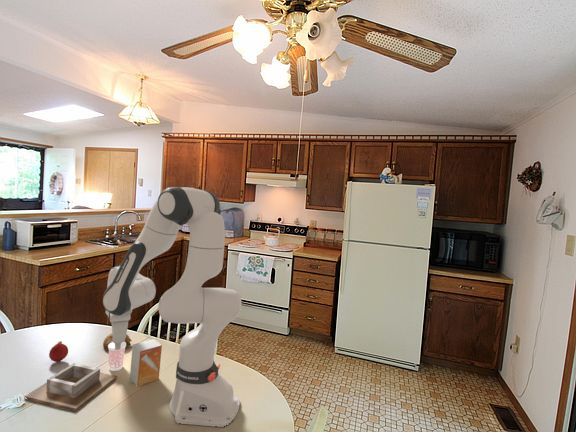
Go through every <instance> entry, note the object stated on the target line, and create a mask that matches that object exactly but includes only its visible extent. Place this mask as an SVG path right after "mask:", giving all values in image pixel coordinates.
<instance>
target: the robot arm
mask: <svg viewBox="0 0 576 432" xmlns="http://www.w3.org/2000/svg"><path fill="white" fill-rule="evenodd" d="M220 206H221V205H220V200H219V198H218V196H217V195H216V194H215V193H213V192H211V191H209V190H205V189H199V188H194V187H184V186H183V187H179V186H171V187H167V188H165V189H163V190H161V192H160V193H159V196H158V198H157V200H156V201H155V202H154V204H153V205H152V207H151V209H150V211H149V213H148V215H147V218H146V220H145V223H144V226H143V227H142V230H141V232H140V234H139V235H138V237H137V238H136V239H135V241H134V242H133V243H132V244H131V245H130V246H129V248H128V250H127V252H126V253H125V255H124V257H123V260H122V262H121V264H119V265H116V266H114V267H112V268H111V269H110V270H109V272H108V277H107V286H106V289H105V291H104V293H103V295H102V305H103V308H104V309H105V314H106V316H107V317H108V319H109V322H110V323H111V331H112V332H111V333H112V335H113V343H115V350H120V348H121V343H122V342H124V341H125V338H126V334H127V331H128V326H129V321H131V315H132V312H133V310H134V309H136V308H139V307H141V306H143V305H145V304H148V303H150V302H151V301H153V300H154V299H155V297H156V294H157V286H156V284H155V282H154V280H152V279H151V278H150V277H146V276H144V275H142V274H141V273H140V272H141V269H142V268H143V267H144V266H145V265H146V264H147V263H148V262H150V261H151V260H153V259H155V258H156V257H159V256H160V255H163V254H164V253H165V252H168V251H169V250H170V249H171V247H172V246H173V245H174V243H175V241H176V239H177V236H178V234H179V230H180V227H181V226H184V225H187V227H188V229H189V241H188V252H187V259H186V265H185V268H184V271H183V273H182V275H181V277H180V279H179V280H178V281H177V282H176V283H175V284H174V285H173V286H172V287H171V288H168V289H167V290H165V292H164V293H163V294H162V295H161V297H160V298H159V301H158V307H157V308H158V313H159V316H160V318H161V319H162V320H163V322H165V323H169V324H170V323H171V324H178V325H181V324H183V325H184V324H199V325H198V326H197V327H196V328H194V329H192V330H190V331H189V332H187V333H186V334H185V335H184V336H183V337H182V339H181V340H180V343H179V355H178V361H177V363H176V369H175V370H176V371H175V379H176V381H175V386H174V391H173V394H172V396H171V397H172V398H171V400H170V402H169V411H170V412H171V413H172V415H173V416H174V420H175V422H176V424H179V423H181V425H183V424H184V425H191V426H192V425H194V426H205V427H215V426H217V427H216V428H224V426H225V427H227V426H229V425H230V424H231V423H232V422H233V421H232V420H233V419H236V417H237V415H238V413H239V411H238V410H240V407H239V406H240V403H241V402H240V398H239V397H238V396H236V395H234V388H233V386H232V384H231V383H229V381H228V380H226V379H225V377H224V376H222V375H221V374H220V373H219V370H220V369H221V363H219V364H218V365H216V362H215V353H216V347H217V341H218V340H219V337H220V334H221V333H222V332H223V331H224V329H225V328H226V326H228V325H229V324H230V323H231V322H232V321H234V320H236V318H237V317H238V316H239V315H240V312H241V310H242V306H243V305H242V299H241V296H240V294H239V293H238V291H237V290H235V289H231V288H227V287H226V288H224V287H202V286H203V284H204V283H206V282H207V281H208V280H210V279H212V278H213V279H214V277H217V276H218V275H219V274H220V273H221V271H222V270H223V268H224V267H223V265H224V257H225V255H224V254H225V245H226V244H225V243H226V240H225V239H226V233H225V231H226V230H225V221H224V218H223V216H222V215H221V214H220V213H219V212H220ZM231 421H232V422H231ZM229 423H230V424H229ZM226 425H227V426H226Z"/></svg>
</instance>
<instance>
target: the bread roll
mask: <svg viewBox="0 0 576 432" xmlns="http://www.w3.org/2000/svg"><path fill="white" fill-rule="evenodd" d="M111 342H113V335H112V332H111V333H109V334H108V335H107V336H106V337H105V338H104V340H103V342H102V344H103V345H102V347H103V349H104V350H105V351H106V352H107V351H108V352H109V349H108V345H109V344H110V343H111ZM124 342H126V347H125V350H126V349H128V348H129V347H130V346H131V345H132V344H131V342H132V339H131V337H130V336H129V335H128V334H127V333H126V338H125V341H124Z"/></svg>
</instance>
